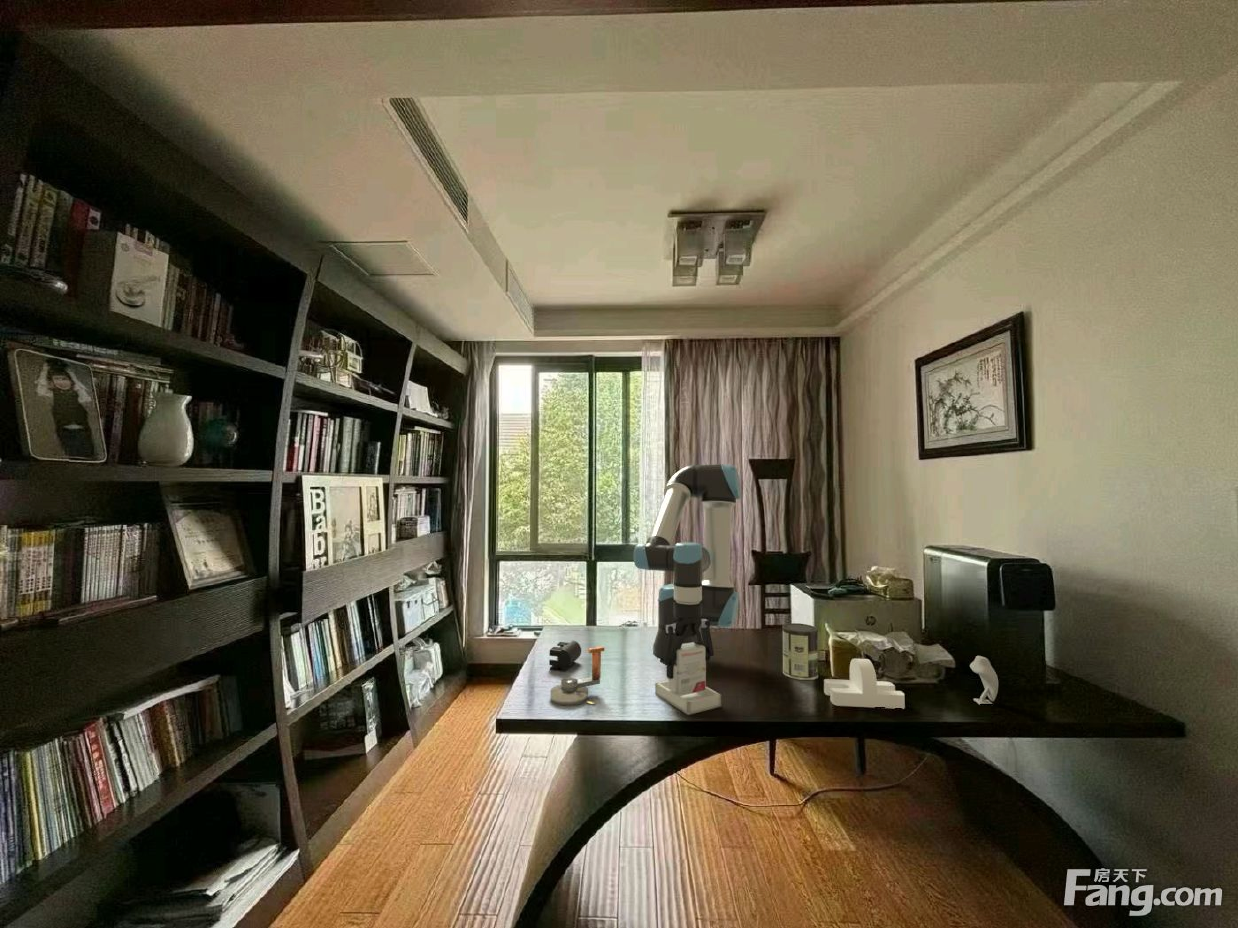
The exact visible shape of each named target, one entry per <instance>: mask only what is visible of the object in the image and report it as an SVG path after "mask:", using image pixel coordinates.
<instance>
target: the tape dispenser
mask: <svg viewBox="0 0 1238 928" xmlns="http://www.w3.org/2000/svg"><path fill="white" fill-rule="evenodd" d="M823 693H824V694H825V695H826V696H830V697H829V698H830V702H831V703H832V704H833V705H834V706H839V707H856V708H858V707H859V708H862V707H863V708H875V707H885V708H884V709H895V708H902V709H903V710H904V709H905V708H906V705H905V693H904V692H903V691H902V690H896V686H895V684H893V682H890V681H882V680H881V681H880V680H879V681H878V679H877V673H876V671H875V667H874V665H873V663H872V661H871V660H870V659H868V658H852V659H851V660H850V664H849V679H837V678H836V679H835V678H833V679H832V678H825V679H823ZM902 709H901V710H902Z"/></svg>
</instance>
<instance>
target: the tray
mask: <svg viewBox="0 0 1238 928" xmlns="http://www.w3.org/2000/svg"><path fill="white" fill-rule="evenodd" d="M654 684H655V687H654V689H655V691H654V692H655V693H654V694H655V695H656V696H657V697H659V698H661V699H662V700H664V701H665V702H666V703H668V704H671V705H672V706H673V707H675V708H676V709H678V710H679V711H681V712H682V713H684V714H686V715H687V716H690V715H693V714H696V713H701V712H706V711H708V710H713V709H717V708H721V707H722V694H721V693H719V692H717V691H715V690H713V689H711V688H710V687H708V686H706V685H705V690H704V691H699V692H695V693H691V694H687V695H683V696H680V695H678V694H676V693H675V692H673V691H671V690H670V689H669V679H668V680H667V679H666V680H663V681H659V682H655V683H654Z"/></svg>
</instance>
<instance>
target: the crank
mask: <svg viewBox="0 0 1238 928" xmlns="http://www.w3.org/2000/svg"><path fill="white" fill-rule="evenodd" d="M602 652H605V647H604V646H597V647H590V648H588V654H591V676H589V677H584V678H579V679H577V678H575V677H566V678H563V679H561V680H560V681H561V683H560V684H561V690H562V691H565V692H573V691H576V690H577V689H578V688H581V687H589V686H594V685H600V684H601V677H602V676H601V673H602V672H601V664H602V663H601V662H602V660H601V659H602V656H601V655H602Z"/></svg>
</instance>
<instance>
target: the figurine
mask: <svg viewBox="0 0 1238 928" xmlns="http://www.w3.org/2000/svg"><path fill="white" fill-rule="evenodd" d="M969 667H970V669H971V670H972V672H973V673H975V674H978V675H979V677H980V679H981V682H982V685H983V688H984V691H983V692H982V693H981V695H980V697H979V698H973V701H974V702H976V703H977V704H978V705H980V704H993V702H995V700H996V698H997V696H998V695H997V694H998V692H999V679H998V678H999V677H998V675H997V673H996V671H995V669H994V668H993V666H992V665H991V662H990V660H989V659H988V658H987V657H985V656H981V655H977V656H975V658H974V660H973V661H972V662H971V663H970V664H969ZM986 697H987V698H988V699H986Z"/></svg>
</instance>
